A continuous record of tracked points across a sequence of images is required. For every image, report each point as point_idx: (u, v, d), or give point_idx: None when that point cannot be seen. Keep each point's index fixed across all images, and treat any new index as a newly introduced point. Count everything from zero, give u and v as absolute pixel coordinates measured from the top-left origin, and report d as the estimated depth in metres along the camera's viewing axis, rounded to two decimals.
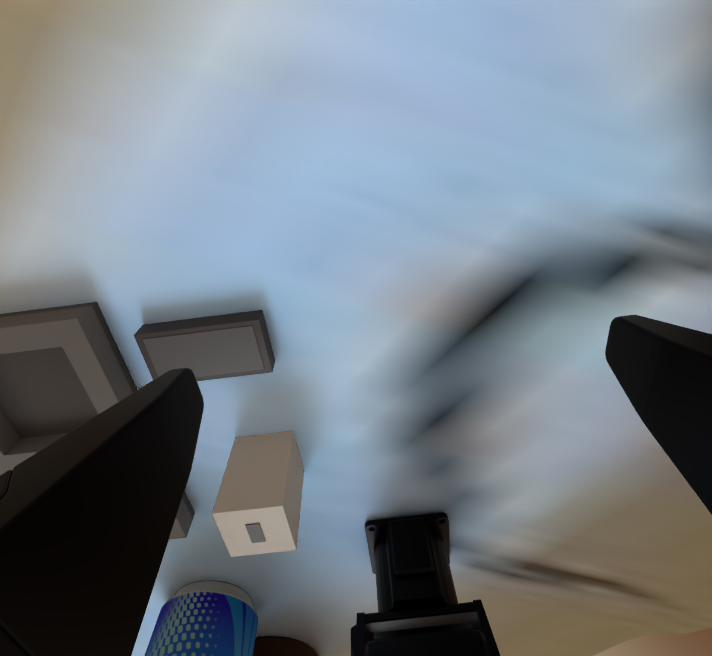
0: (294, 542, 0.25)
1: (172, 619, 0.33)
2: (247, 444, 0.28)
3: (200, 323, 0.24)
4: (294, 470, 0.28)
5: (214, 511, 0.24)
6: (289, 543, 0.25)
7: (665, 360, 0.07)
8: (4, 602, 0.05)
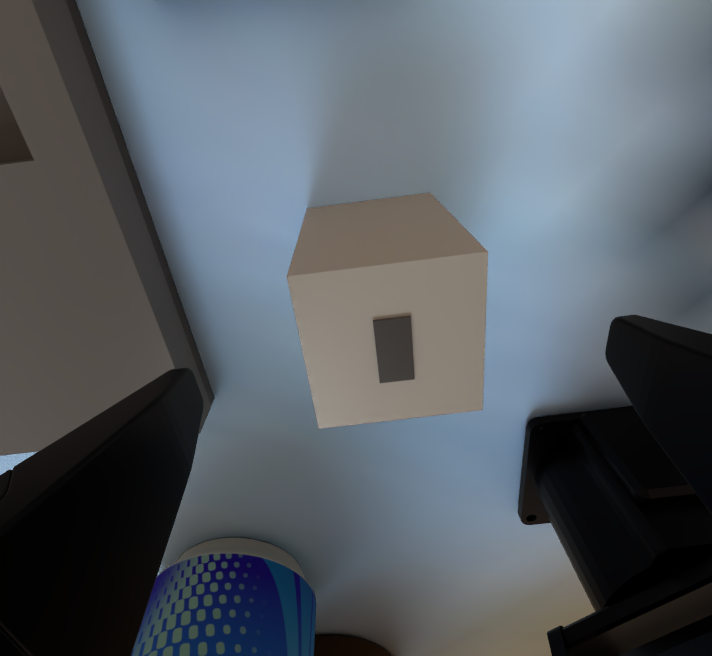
0: (481, 388, 0.10)
1: (171, 601, 0.18)
2: (337, 210, 0.13)
3: None
4: None
5: (292, 273, 0.09)
6: (471, 388, 0.10)
7: (665, 360, 0.07)
8: (4, 601, 0.05)
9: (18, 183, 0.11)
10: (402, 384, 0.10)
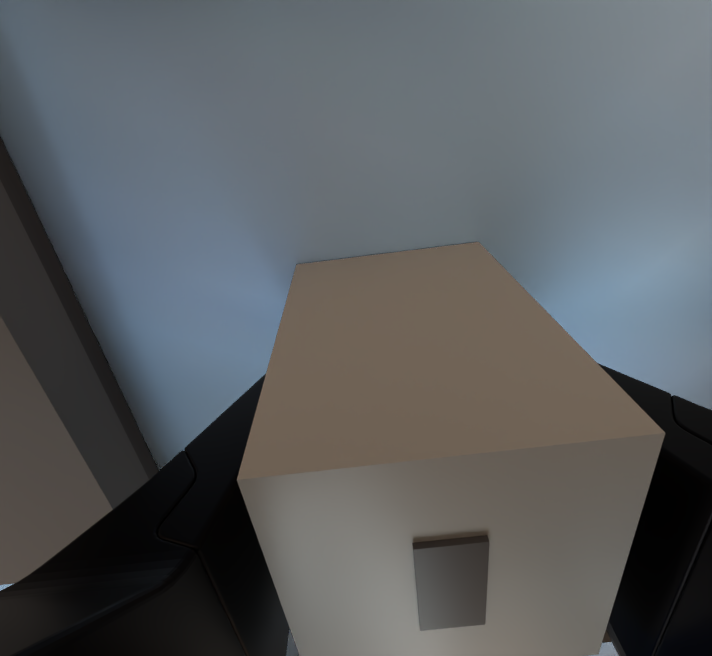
0: None
1: None
2: (341, 272, 0.09)
3: None
4: None
5: (250, 468, 0.04)
6: (585, 629, 0.05)
7: None
8: (224, 579, 0.05)
9: None
10: (461, 627, 0.05)
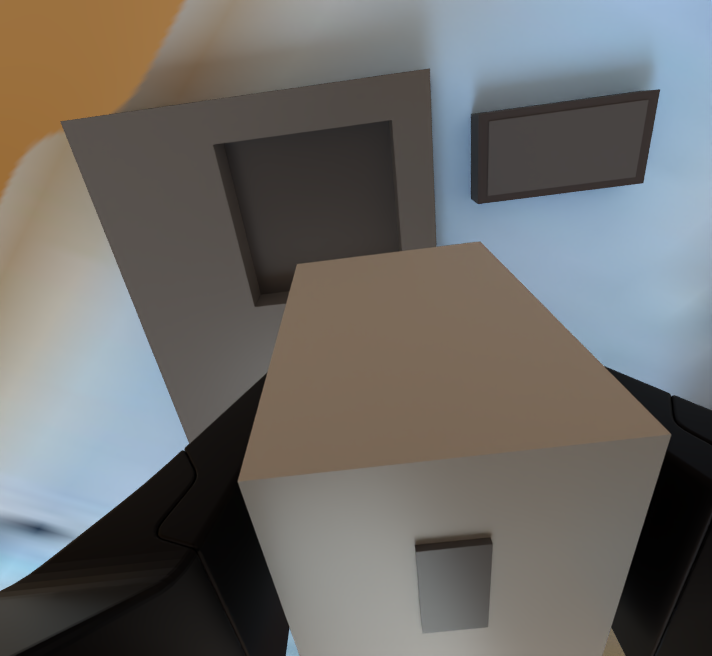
0: None
1: None
2: (342, 271, 0.08)
3: (568, 101, 0.17)
4: None
5: (251, 470, 0.04)
6: (589, 632, 0.05)
7: None
8: (223, 579, 0.05)
9: None
10: (463, 630, 0.05)
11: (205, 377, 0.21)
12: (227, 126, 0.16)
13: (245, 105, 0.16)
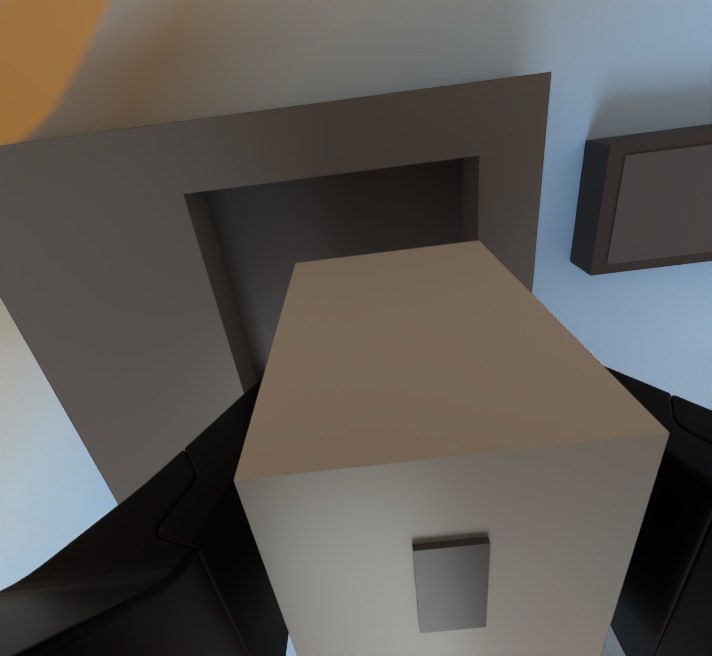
0: None
1: None
2: (340, 270, 0.08)
3: None
4: None
5: (247, 468, 0.04)
6: (586, 632, 0.05)
7: None
8: (223, 579, 0.05)
9: None
10: (461, 630, 0.05)
11: None
12: (207, 165, 0.10)
13: (236, 131, 0.09)
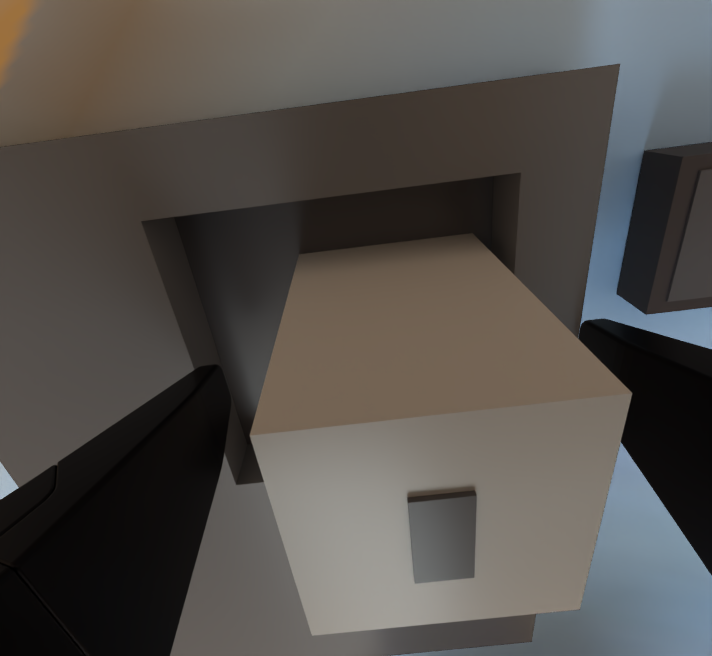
0: None
1: None
2: (342, 260, 0.09)
3: None
4: None
5: (262, 426, 0.05)
6: (566, 584, 0.06)
7: (628, 364, 0.07)
8: (60, 595, 0.05)
9: None
10: (452, 581, 0.06)
11: None
12: (169, 185, 0.08)
13: (207, 142, 0.07)
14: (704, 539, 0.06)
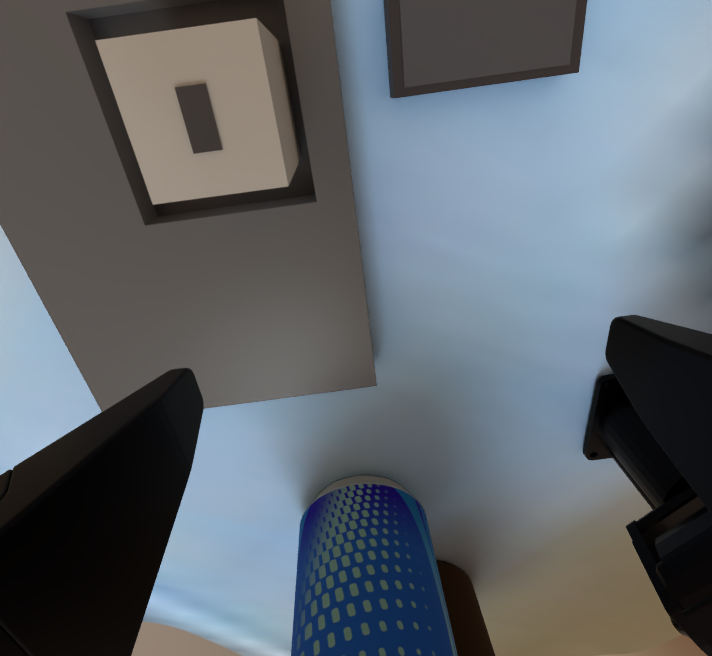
0: (284, 164, 0.12)
1: (336, 515, 0.24)
2: None
3: None
4: (283, 88, 0.14)
5: (101, 40, 0.10)
6: (274, 163, 0.12)
7: (665, 360, 0.07)
8: (4, 600, 0.05)
9: (302, 216, 0.17)
10: (214, 156, 0.12)
11: (99, 313, 0.19)
12: None
13: None
14: None
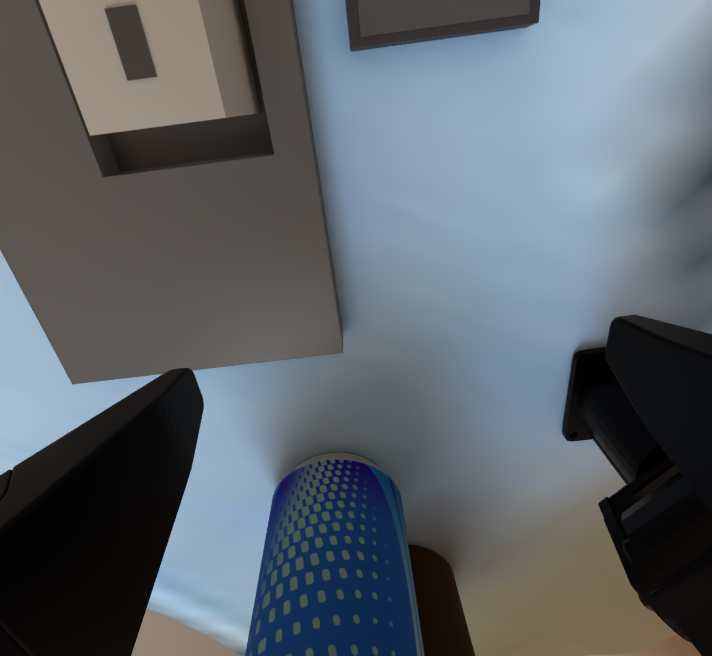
0: (221, 94, 0.12)
1: (305, 489, 0.24)
2: None
3: None
4: (233, 31, 0.14)
5: None
6: (210, 92, 0.12)
7: (665, 360, 0.07)
8: (4, 601, 0.05)
9: (260, 170, 0.17)
10: (148, 84, 0.12)
11: (60, 269, 0.19)
12: None
13: None
14: None
